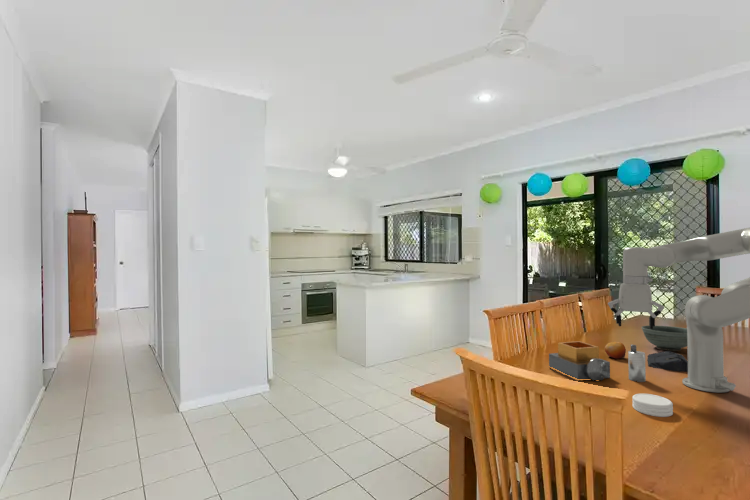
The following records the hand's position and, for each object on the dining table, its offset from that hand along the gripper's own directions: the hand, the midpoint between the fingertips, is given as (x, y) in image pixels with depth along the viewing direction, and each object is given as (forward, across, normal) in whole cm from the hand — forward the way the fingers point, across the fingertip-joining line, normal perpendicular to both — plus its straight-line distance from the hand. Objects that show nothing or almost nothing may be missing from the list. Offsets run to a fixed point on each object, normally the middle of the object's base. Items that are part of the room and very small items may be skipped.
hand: (635, 326), depth 143 cm
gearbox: (+20, +19, +1) cm, 27 cm away
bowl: (+19, -19, -57) cm, 63 cm away
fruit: (+20, +4, -30) cm, 36 cm away
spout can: (+19, -1, 0) cm, 19 cm away
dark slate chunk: (+20, -15, -29) cm, 38 cm away
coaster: (+20, -1, +30) cm, 36 cm away
